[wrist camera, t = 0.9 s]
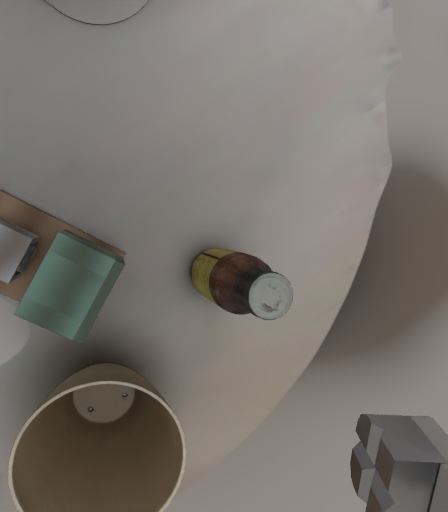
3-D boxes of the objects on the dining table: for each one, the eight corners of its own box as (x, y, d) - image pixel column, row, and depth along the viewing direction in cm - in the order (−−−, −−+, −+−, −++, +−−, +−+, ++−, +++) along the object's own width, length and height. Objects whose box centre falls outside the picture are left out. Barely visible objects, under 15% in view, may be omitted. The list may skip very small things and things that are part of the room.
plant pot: (133, 466, 54) (140, 566, 39) (18, 425, 50) (-26, 518, 35) (187, 360, 55) (215, 417, 39) (77, 312, 51) (59, 354, 35)
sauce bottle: (207, 305, 55) (255, 354, 35) (179, 265, 53) (214, 294, 34) (248, 275, 56) (317, 307, 36) (221, 235, 54) (279, 247, 35)
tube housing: (-118, 236, 45) (-171, 241, 37) (-72, 153, 46) (-114, 139, 37) (85, 327, 51) (79, 348, 43) (125, 252, 52) (126, 260, 43)
